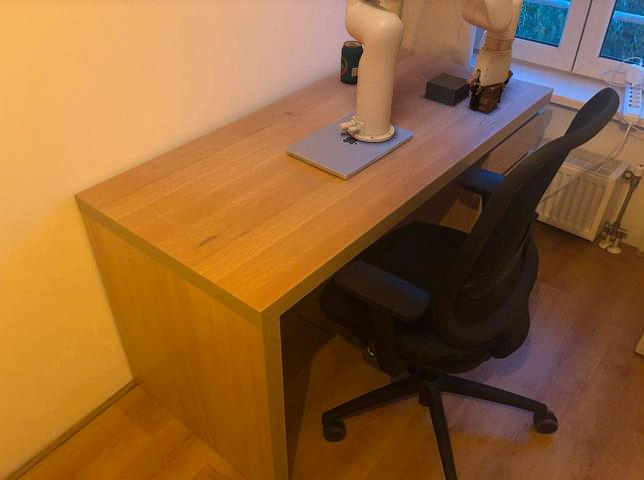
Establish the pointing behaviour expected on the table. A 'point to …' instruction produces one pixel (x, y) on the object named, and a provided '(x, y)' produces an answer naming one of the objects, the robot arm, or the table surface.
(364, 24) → the robot arm
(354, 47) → the soda can
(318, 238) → the table surface
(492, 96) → the box
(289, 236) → the table surface
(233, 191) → the table surface
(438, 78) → the block
